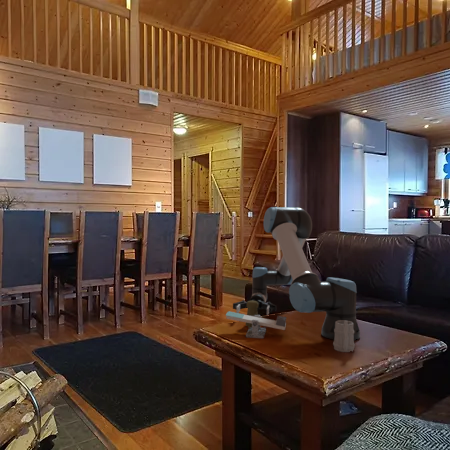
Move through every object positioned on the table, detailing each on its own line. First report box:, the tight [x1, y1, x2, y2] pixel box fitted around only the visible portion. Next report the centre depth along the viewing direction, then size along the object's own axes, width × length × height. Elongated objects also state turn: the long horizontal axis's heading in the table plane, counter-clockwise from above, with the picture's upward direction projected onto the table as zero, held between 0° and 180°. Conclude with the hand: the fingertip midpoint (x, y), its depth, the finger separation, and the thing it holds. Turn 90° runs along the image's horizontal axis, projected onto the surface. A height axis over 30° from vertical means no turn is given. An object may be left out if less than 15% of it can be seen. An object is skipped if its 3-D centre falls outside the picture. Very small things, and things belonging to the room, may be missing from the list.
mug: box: [332, 320, 356, 353], centre depth 153 cm, size 8×12×12 cm, turn 169°
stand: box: [245, 314, 267, 339], centre depth 174 cm, size 7×12×7 cm, turn 170°
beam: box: [225, 311, 287, 331], centre depth 174 cm, size 24×7×4 cm, turn 80°
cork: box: [245, 300, 259, 328], centre depth 186 cm, size 6×6×11 cm
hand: (252, 310), depth 190 cm, fingers open, 13 cm apart
